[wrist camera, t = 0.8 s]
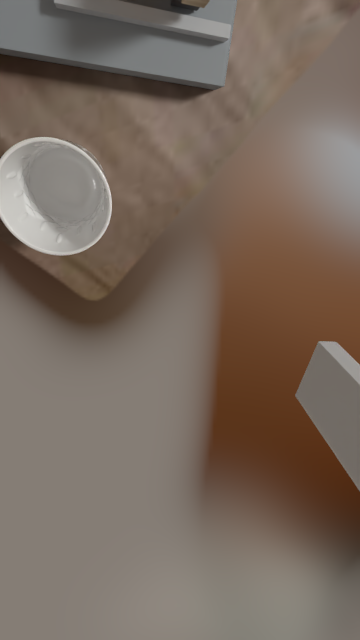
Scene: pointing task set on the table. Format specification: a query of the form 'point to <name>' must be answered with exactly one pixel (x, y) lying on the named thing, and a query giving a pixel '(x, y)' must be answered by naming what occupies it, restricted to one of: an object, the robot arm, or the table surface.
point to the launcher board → (124, 37)
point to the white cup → (54, 195)
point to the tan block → (190, 4)
